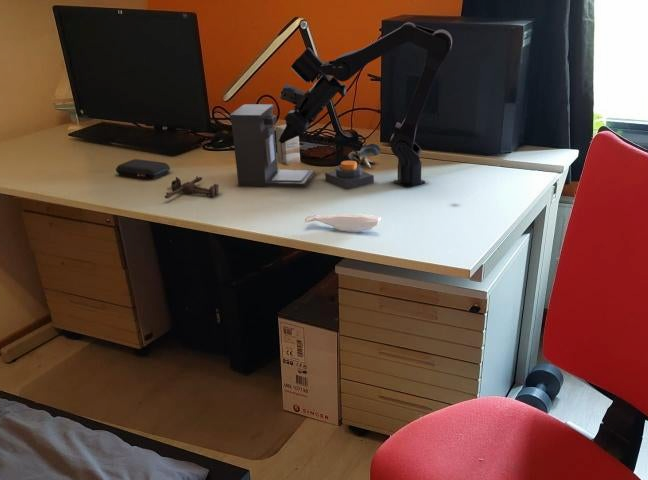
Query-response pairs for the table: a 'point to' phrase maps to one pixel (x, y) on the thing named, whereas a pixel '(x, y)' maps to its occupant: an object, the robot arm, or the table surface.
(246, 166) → the coffee maker
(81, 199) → the table surface
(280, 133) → the cream carton
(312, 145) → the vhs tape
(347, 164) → the button
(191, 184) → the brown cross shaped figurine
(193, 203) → the table surface
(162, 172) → the carrying case
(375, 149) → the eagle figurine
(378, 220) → the white fish figurine
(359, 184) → the dark grey button base
